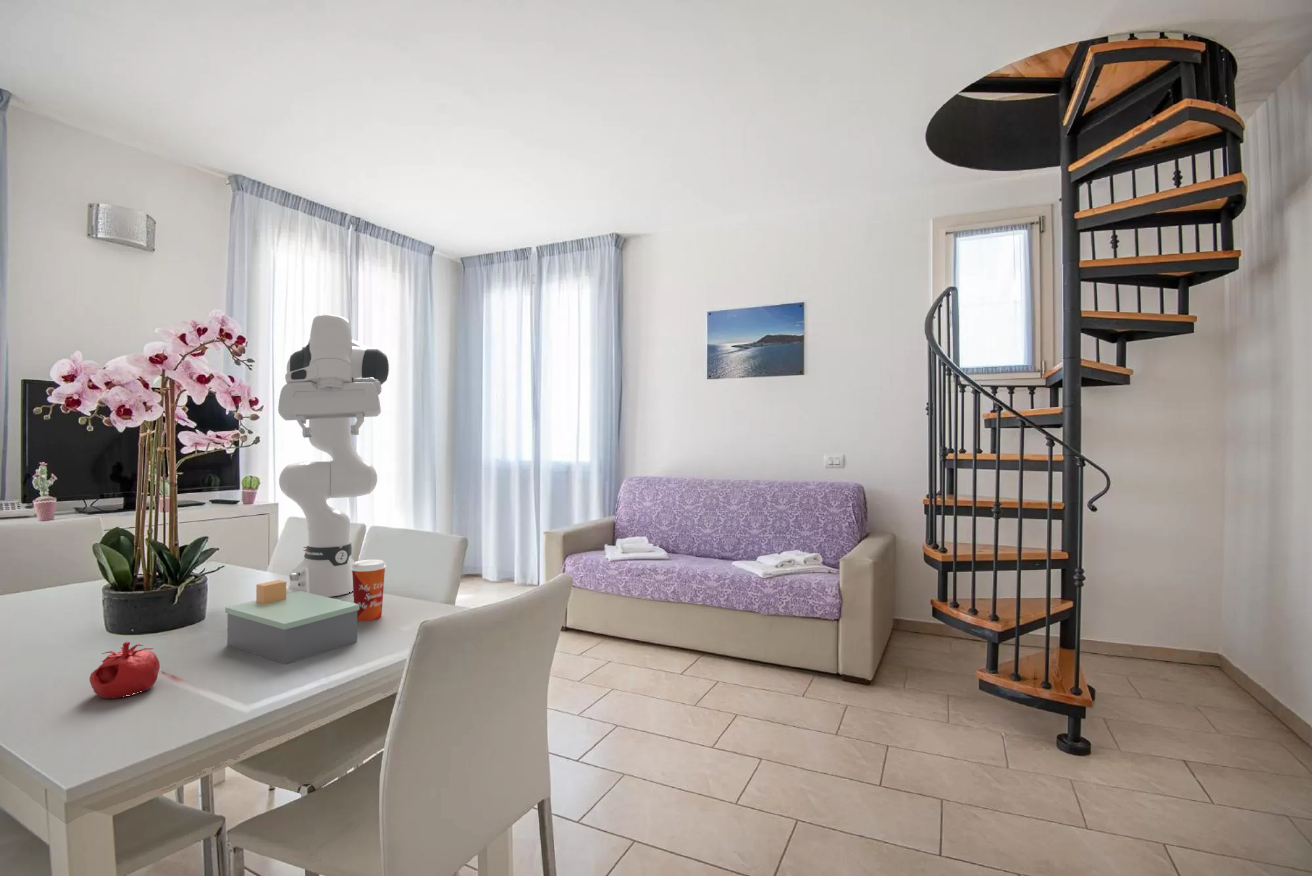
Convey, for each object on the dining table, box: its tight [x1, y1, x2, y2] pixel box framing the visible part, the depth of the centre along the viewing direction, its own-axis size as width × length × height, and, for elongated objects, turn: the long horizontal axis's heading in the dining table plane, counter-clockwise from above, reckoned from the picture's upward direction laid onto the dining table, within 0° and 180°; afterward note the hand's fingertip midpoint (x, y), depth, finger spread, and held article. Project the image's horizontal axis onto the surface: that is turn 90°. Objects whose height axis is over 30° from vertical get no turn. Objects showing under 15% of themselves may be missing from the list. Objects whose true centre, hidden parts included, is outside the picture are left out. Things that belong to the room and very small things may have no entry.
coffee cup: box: [351, 559, 387, 622], centre depth 158 cm, size 8×8×15 cm
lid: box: [224, 579, 359, 630], centre depth 138 cm, size 23×17×5 cm
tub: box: [226, 611, 358, 665], centre depth 138 cm, size 22×16×8 cm
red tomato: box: [89, 641, 161, 699], centre depth 115 cm, size 10×10×9 cm
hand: (331, 435), depth 137 cm, fingers open, 8 cm apart
